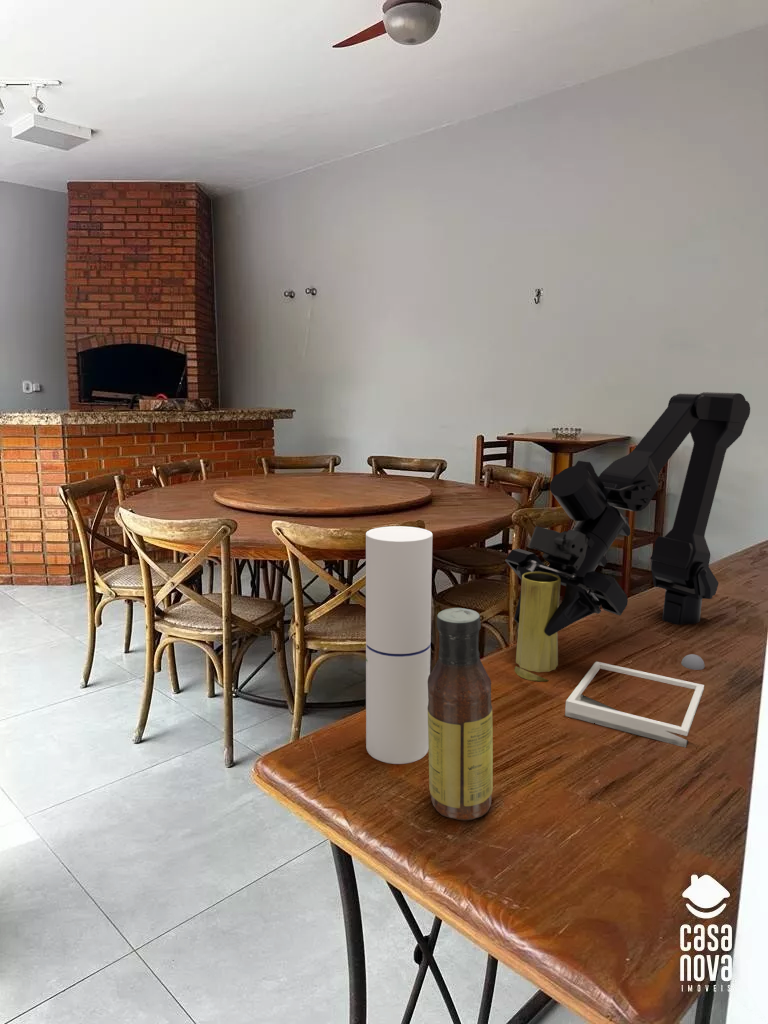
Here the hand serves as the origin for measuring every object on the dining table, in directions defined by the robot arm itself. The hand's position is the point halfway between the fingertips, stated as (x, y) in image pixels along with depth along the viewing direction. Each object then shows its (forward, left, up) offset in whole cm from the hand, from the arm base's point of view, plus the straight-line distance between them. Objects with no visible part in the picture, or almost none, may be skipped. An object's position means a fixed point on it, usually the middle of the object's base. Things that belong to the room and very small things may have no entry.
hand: (531, 627), depth 95 cm
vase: (-1, 0, -7) cm, 7 cm away
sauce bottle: (+29, +15, -7) cm, 33 cm away
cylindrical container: (+27, +3, -7) cm, 28 cm away
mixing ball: (-18, +14, -6) cm, 24 cm away
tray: (-3, +15, -7) cm, 17 cm away
